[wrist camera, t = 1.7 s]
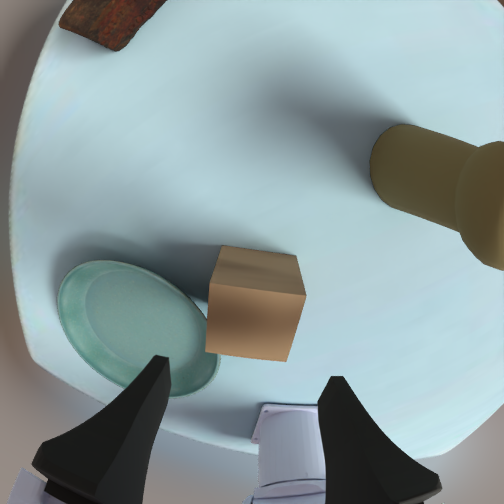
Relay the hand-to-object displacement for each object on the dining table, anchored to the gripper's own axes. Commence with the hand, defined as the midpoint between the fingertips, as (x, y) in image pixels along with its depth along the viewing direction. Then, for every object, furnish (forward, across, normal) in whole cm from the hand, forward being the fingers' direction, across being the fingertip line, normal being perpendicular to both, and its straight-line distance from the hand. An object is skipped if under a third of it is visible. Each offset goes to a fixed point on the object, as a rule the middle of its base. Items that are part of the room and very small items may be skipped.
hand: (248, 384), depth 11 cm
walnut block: (+9, 0, 0) cm, 9 cm away
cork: (+9, -9, -10) cm, 16 cm away
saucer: (+10, +9, +6) cm, 14 cm away
